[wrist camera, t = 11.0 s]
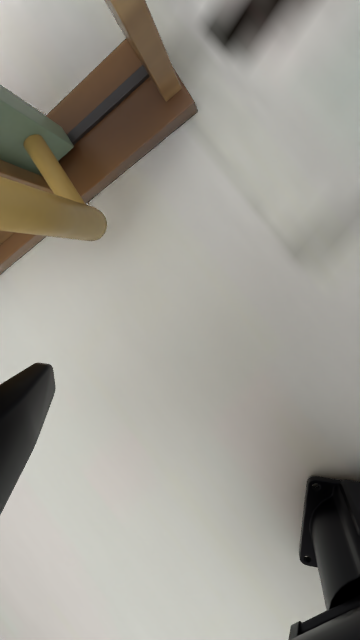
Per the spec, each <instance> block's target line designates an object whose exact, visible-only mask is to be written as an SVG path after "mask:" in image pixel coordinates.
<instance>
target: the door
mask: <svg viewBox="0 0 360 640" xmlns="http://www.w3.org/2000/svg"><path fill="white" fill-rule="evenodd" d="M73 147H74V146H73V144H72V142H71V141H70V139H69V138H68V136H67V135H66V133H65V131H64V130H63V128H62V127H61V126H59V125H58V124H56V123H55V122H54V121H52V120H51V119H49V118H48V117H46V116H45V115H44V114H42V113H41V112H39V111H38V110H36V109H35V108H33V107H32V106H31V105H29V104H28V103H26V102H25V101H23V100H22V99H21V98H19V97H18V96H16V95H15V94H13V93H12V92H10V91H9V90H8V89H6V88H5V87H3V86H2V85H0V160H3V161H5V162H8V163H10V164H13V165H15V166H18V167H20V168H23V169H25V170H28V171H30V172H33V173H35V174H38V175H40V176H43V177H44V179H45V181H46V182H47V184H48V185H49V187H50V188H51V190H52V191H53V193H54V194H52V193H49V192H46V191H43V190H40V189H37V188H34V187H31V186H28V185H25V184H22V183H19V182H16V181H13V180H10V179H7V178H4V177H0V231H8V232H17V233H25V234H34V235H42V236H51V237H59V238H68V239H77V240H85V241H95V240H98V239H100V238H101V237H102V236H103V235H104V234H105V232H106V228H107V222H106V218H105V216H104V215H103V213H102V212H101V211H100V210H98V209H96V208H94V207H91V206H88V205H86V204H85V202H84V201H83V199H82V198H81V196H80V195H79V193H78V192H77V190H76V188H75V187H74V185H73V184H72V182H71V181H70V179H69V178H68V176H67V174H66V173H65V171H64V170H63V168H62V167H61V165H60V164H59V162H58V161H59V160H60V159H61V158H62V157H63V156H64V155H66V154H67V153H68V152H69V151H70V150H71V149H72V148H73Z"/></svg>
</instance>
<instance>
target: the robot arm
mask: <svg viewBox="0 0 360 640" xmlns="http://www.w3.org/2000/svg"><path fill="white" fill-rule="evenodd" d="M54 393H55V379H54V372H53V367H52V366H51V365H50V364H44V363H35V364H33V365H31V366H30V367H28V368H26V369H25V370H23V371H22V372H20V373H18V374H17V375H15V376H14V377H12V378H10V379H9V380H7V381H5V382H4V383H2V384H1V385H0V514H1V513H2V511H3V509H4V507H5V505H6V503H7V501H8V499H9V497H10V495H11V493H12V491H13V489H14V487H15V485H16V483H17V481H18V479H19V477H20V475H21V473H22V471H23V469H24V467H25V465H26V463H27V461H28V459H29V457H30V455H31V453H32V451H33V449H34V446H35V444H36V442H37V439H38V437H39V434H40V431H41V429H42V426H43V423H44V421H45V418H46V415H47V412H48V410H49V407H50V404H51V402H52V399H53V396H54ZM315 483H317V484H319V485H318V486H312V485H313V484H315ZM299 556H300V560H301V562H302V563H303V564H305V565H308V566H313V567H318V571H319V575H320V580H321V585H322V589H323V594H324V599H325V604H326V608H327V611H325V612H323V613H321V614H319V615H317V616H315V617H313V618H311V619H309V620H307V621H305V622H303V623H302V622H301V621H299V622H297V623H295V624H293V625H291V629H290V635H289V640H360V482H358V481H351V480H337V479H331V478H324V477H318V476H312V477H309V478H308V480H307V484H306V493H305V502H304V512H303V521H302V530H301V539H300V548H299ZM305 556H309V557H305Z"/></svg>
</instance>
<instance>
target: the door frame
mask: <svg viewBox="0 0 360 640" xmlns="http://www.w3.org/2000/svg"><path fill="white" fill-rule="evenodd" d="M105 2H106V4H107V6H108V7H109V9H110V11H111V13H112V14H113V16H114V18H115V20H116V21H117V23H118V25H119V27H120V28H121V30H122V32H123V34H124V35H125V37H126V39H125V40H124V41H123V42H122V43H121V44H120V45H119V46H118V47H117V48H116V49H115V50H114V51H113V52H112V53H111V54H110V55H109V56H108V57H106V58H105V59H104V60H103V61H102V62H101V63H100V64H99V65H98V66H97V67H96V68H95V69H94V70H93V71H92V72H91V73H90V74H89V75H88V76H87V77H86V78H85V79H84V80H83V81H82V82H81V83H80V84H79V85H78V86H76V87H75V88H74V89H73V90H72V91H71V92H70V93H69V94H68V95H67V96H66V97H65V98H64V99H63V100H62V101H61V102H60V103H59V104H58V105H57V106H56V107H55V108H54V109H53V110H52V111H51V112H50V113H49V114H48V115H46V117H48V118H49V119H51V120H52V121H54V122H55V123H56V124H58V125H59V126H61V127H62V128H63V130H64V131H65V133H66V135H67V136H68V138H69V139H70V141H71V142H72V144H73V146H74V147H73V148H72V149H71V150H70V151H69V152H68V153H67V154H66V155H64V156H63V157H62V158H61V159H60V160H59V161H58V162H59V164H60V165H61V167H62V168H63V170H64V171H65V173H66V174H67V176H68V178H69V179H70V181H71V182H72V184H73V185H74V187H75V188H76V190H77V192H78V193H79V195H80V196H81V198H82V199H83V201H84V202H85V204H86V203H87V202H88V201H90V200H91V199H92V198H93V197H94V196H96V195H97V194H98V193H99V192H101V191H102V190H103V189H104V188H105V187H107V186H108V185H109V184H110V183H111V182H113V181H114V180H115V179H116V178H118V177H119V176H120V175H121V174H122V173H124V172H125V171H126V170H127V169H128V168H130V167H131V166H132V165H133V164H134V163H136V162H137V161H138V160H139V159H141V158H142V157H143V156H144V155H145V154H147V153H148V152H149V151H150V150H151V149H153V148H154V147H155V146H156V145H158V144H159V143H160V142H161V141H162V140H164V139H165V138H166V137H167V136H168V135H170V134H171V133H172V132H173V131H175V130H176V129H177V128H178V127H179V126H181V125H182V124H183V123H184V122H185V121H187V120H188V119H189V118H190V117H191V116H193V115H194V114H195V113H196V112H197V111H198V110H197V107H196V105H195V102H194V100H193V99H192V97H191V95H190V94H189V92H188V91H187V89H186V87H185V86H184V84H183V83H182V81H181V79H180V78H179V76H178V75H177V73H176V71H175V70H174V68H173V66H172V64H171V62H170V59H169V57H168V54H167V52H166V49H165V47H164V45H163V42H162V40H161V37H160V35H159V33H158V30H157V28H156V25H155V23H154V21H153V18H152V16H151V13H150V11H149V8H148V6H147V4H146V1H145V0H105ZM0 177H4V178H7V179H10V180H13V181H16V182H19V183H22V184H25V185H28V186H31V187H34V188H37V189H40V190H43V191H46V192H49V193H52V194H54V193H53V191H52V190H51V188H50V187H49V185H48V184H47V182H46V181H45V179H44V177H43V176H40V175H38V174H35V173H33V172H30V171H28V170H25V169H23V168H20V167H18V166H15V165H13V164H10V163H8V162H5V161H3V160H0ZM45 237H46V236H42V235H34V234H25V233H17V232H8V231H0V274H1V273H2V272H3V271H5V270H6V269H7V268H8V267H10V266H11V265H12V264H13V263H14V262H16V261H17V260H18V259H19V258H20V257H22V256H23V255H24V254H25V253H27V252H28V251H29V250H30V249H31V248H33V247H34V246H35V245H36V244H37V243H39V242H40V241H41V240H42V239H44V238H45Z"/></svg>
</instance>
